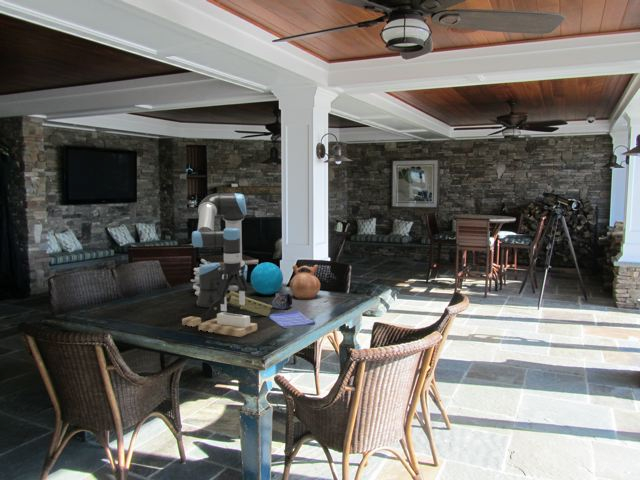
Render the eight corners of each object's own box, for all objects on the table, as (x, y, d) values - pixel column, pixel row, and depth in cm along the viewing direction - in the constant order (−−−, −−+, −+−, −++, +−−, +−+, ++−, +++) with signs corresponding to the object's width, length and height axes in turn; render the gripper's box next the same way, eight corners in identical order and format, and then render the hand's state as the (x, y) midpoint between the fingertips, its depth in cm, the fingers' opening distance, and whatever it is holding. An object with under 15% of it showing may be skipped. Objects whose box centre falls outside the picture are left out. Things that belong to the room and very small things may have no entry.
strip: (217, 328, 246) (216, 313, 246) (222, 326, 250) (222, 311, 249) (245, 333, 239) (244, 317, 238) (250, 331, 242) (250, 315, 242)
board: (198, 330, 246) (198, 323, 246) (216, 323, 257) (216, 317, 257) (240, 336, 234) (240, 330, 234) (257, 330, 246) (257, 323, 245)
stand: (182, 325, 255) (182, 318, 255) (190, 322, 261) (190, 316, 260) (192, 326, 252) (192, 320, 252) (201, 323, 257) (201, 317, 257)
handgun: (205, 315, 268) (216, 284, 268) (261, 333, 276) (272, 303, 276) (205, 317, 264) (217, 286, 264) (262, 335, 272) (273, 305, 271)
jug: (322, 294, 327) (322, 262, 325) (317, 300, 309) (317, 267, 307) (293, 293, 330) (293, 262, 328) (286, 299, 313) (286, 266, 311)
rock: (291, 305, 285) (283, 288, 287) (274, 314, 287) (267, 296, 289) (298, 305, 295) (290, 289, 297) (282, 313, 297) (275, 297, 300)
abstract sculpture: (245, 261, 343) (198, 249, 334) (245, 281, 323) (196, 269, 315) (234, 289, 353) (189, 278, 344) (234, 310, 334) (186, 299, 325)
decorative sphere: (258, 290, 341) (257, 259, 339) (287, 292, 335) (287, 260, 333) (245, 296, 321) (245, 264, 320) (276, 298, 316) (276, 265, 314)
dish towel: (299, 315, 277) (299, 309, 277) (316, 325, 255) (316, 320, 255) (267, 318, 270) (267, 312, 270) (282, 329, 248) (282, 323, 248)
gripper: (221, 266, 229) (222, 314, 231) (255, 259, 250) (255, 303, 253) (207, 265, 232) (208, 312, 235) (242, 257, 254) (242, 301, 256)
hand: (233, 307), depth 244 cm, fingers open, 13 cm apart
